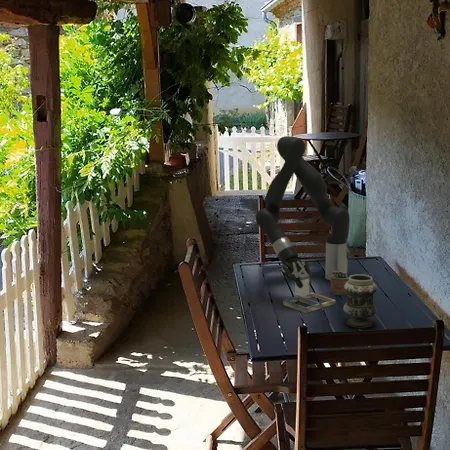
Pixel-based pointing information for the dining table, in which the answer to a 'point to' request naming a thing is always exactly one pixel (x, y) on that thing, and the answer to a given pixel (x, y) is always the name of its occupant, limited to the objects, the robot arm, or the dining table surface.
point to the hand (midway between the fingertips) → (305, 285)
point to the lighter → (338, 283)
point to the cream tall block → (305, 282)
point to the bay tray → (308, 302)
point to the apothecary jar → (360, 300)
